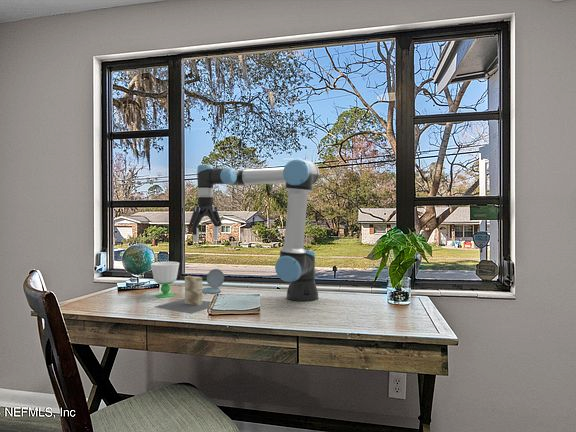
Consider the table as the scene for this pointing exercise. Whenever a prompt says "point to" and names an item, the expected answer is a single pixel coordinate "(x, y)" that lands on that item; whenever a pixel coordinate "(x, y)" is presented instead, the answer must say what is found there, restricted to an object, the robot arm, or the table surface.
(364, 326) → the table surface
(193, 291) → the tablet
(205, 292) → the grey upright round piece
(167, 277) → the cup
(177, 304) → the mat
